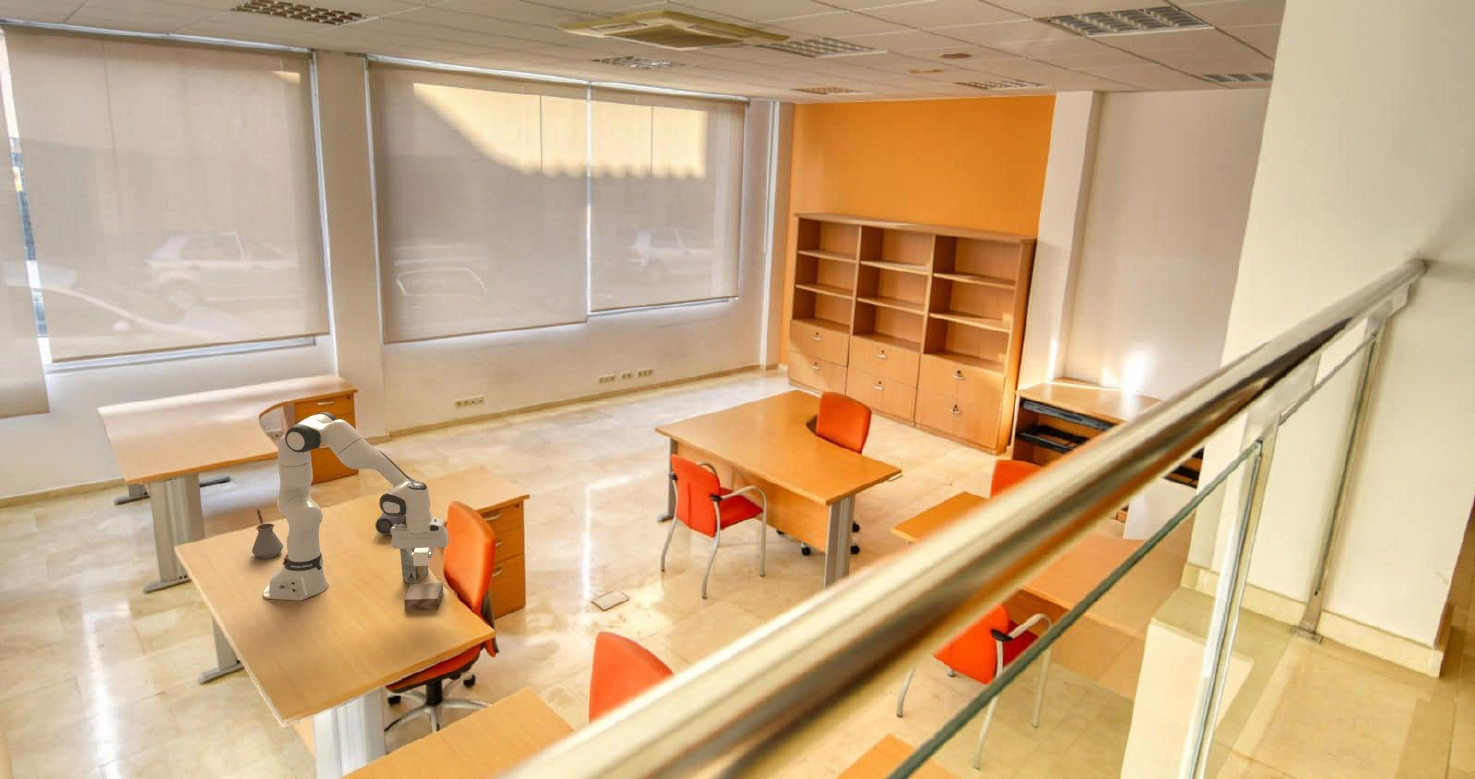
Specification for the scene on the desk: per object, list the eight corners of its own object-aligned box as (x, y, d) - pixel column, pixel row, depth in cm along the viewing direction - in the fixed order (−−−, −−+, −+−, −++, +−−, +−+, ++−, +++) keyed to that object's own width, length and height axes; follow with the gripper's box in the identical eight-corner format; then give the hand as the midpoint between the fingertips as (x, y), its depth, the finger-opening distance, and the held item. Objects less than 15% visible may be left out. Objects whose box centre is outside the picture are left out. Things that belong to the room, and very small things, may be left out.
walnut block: (405, 611, 327) (404, 599, 326) (411, 595, 339) (410, 583, 337) (438, 610, 329) (437, 598, 328) (443, 594, 341) (442, 582, 339)
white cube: (413, 566, 327) (412, 553, 325) (416, 559, 331) (415, 547, 330) (427, 565, 327) (426, 553, 326) (430, 559, 332) (429, 547, 331)
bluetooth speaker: (396, 538, 384) (394, 517, 382) (375, 537, 384) (373, 516, 382) (415, 516, 406) (413, 496, 403) (395, 515, 406) (393, 495, 404)
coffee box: (414, 571, 357) (412, 535, 352) (429, 573, 355) (426, 537, 351) (402, 581, 348) (399, 545, 344) (416, 583, 347) (414, 547, 342)
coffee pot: (286, 556, 364) (282, 523, 360) (255, 563, 357) (251, 530, 353) (276, 537, 380) (272, 505, 376) (246, 543, 374) (242, 511, 370)
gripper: (388, 528, 320) (390, 562, 324) (445, 526, 323) (448, 560, 327) (391, 521, 326) (394, 554, 330) (448, 519, 329) (450, 552, 333)
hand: (421, 557), depth 329 cm, fingers closed on white cube, 5 cm apart
